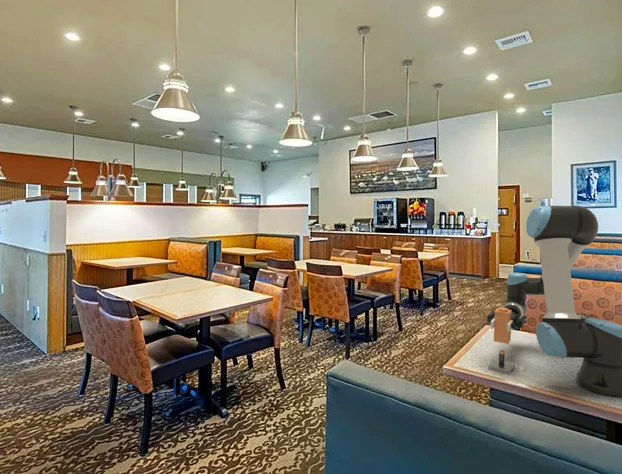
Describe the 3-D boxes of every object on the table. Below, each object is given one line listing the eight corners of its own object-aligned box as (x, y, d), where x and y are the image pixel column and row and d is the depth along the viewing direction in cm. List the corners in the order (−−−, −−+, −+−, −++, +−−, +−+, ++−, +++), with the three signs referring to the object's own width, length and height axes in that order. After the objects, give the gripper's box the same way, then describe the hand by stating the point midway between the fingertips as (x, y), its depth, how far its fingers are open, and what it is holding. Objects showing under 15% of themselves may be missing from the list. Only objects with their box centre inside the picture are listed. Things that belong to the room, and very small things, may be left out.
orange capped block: (510, 340, 148) (511, 308, 147) (507, 343, 144) (509, 310, 143) (496, 337, 151) (497, 306, 150) (493, 341, 147) (494, 308, 146)
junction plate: (514, 367, 149) (515, 349, 148) (510, 374, 142) (511, 356, 142) (492, 362, 154) (493, 345, 153) (488, 368, 147) (488, 351, 147)
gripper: (535, 325, 156) (526, 341, 137) (488, 317, 167) (474, 331, 148) (536, 307, 155) (527, 321, 137) (489, 301, 166) (474, 312, 148)
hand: (499, 326), depth 143 cm, fingers closed on orange capped block, 5 cm apart
